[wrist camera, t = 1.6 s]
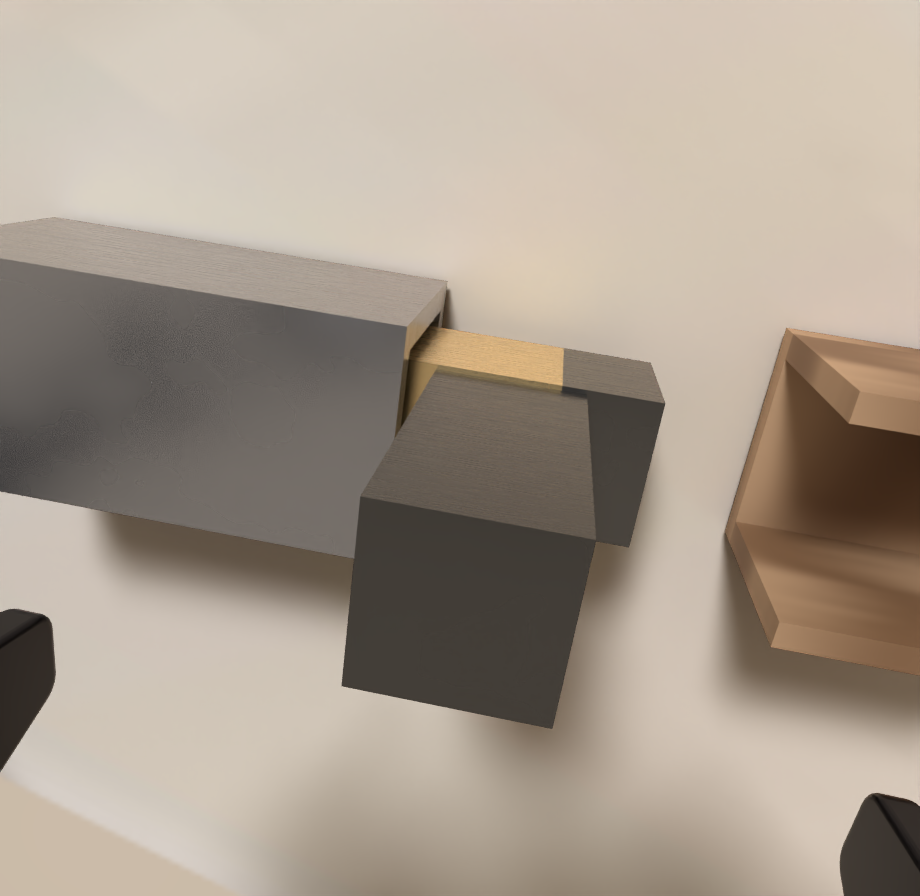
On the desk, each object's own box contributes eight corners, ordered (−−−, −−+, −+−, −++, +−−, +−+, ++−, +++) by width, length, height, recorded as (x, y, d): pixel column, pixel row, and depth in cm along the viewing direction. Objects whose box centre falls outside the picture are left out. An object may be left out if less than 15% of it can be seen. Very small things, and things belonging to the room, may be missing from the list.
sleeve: (65, 404, 21) (-75, 477, 17) (54, 217, 19) (-106, 240, 15) (422, 469, 21) (380, 563, 16) (447, 281, 19) (407, 326, 14)
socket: (724, 531, 20) (770, 646, 16) (786, 327, 18) (860, 391, 13) (955, 573, 20) (1073, 704, 15) (1045, 369, 18) (1212, 449, 13)
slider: (40, 383, 20) (-335, 554, 12) (31, 259, 19) (-393, 349, 11) (620, 488, 19) (659, 756, 11) (650, 362, 18) (719, 555, 10)
